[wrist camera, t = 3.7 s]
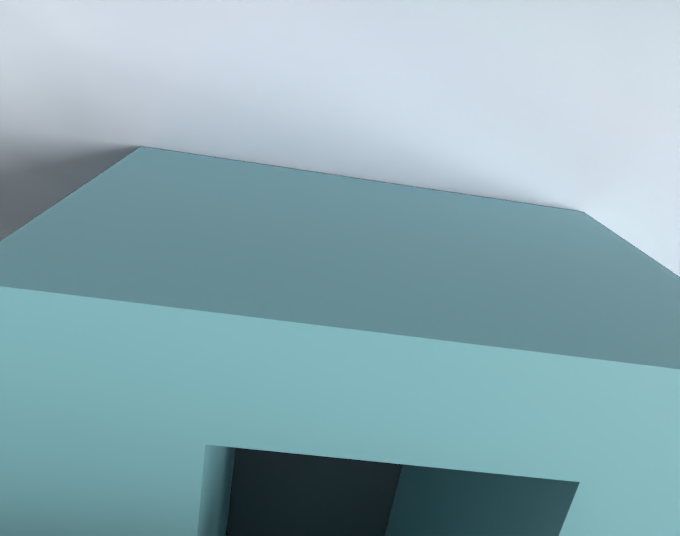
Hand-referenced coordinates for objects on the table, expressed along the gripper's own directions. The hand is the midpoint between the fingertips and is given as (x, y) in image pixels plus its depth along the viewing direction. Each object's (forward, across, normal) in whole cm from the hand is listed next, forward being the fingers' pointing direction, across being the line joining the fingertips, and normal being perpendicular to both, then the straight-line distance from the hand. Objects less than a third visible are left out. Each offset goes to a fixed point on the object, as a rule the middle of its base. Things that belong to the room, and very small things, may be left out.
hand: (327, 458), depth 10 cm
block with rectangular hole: (+1, 0, 0) cm, 1 cm away
